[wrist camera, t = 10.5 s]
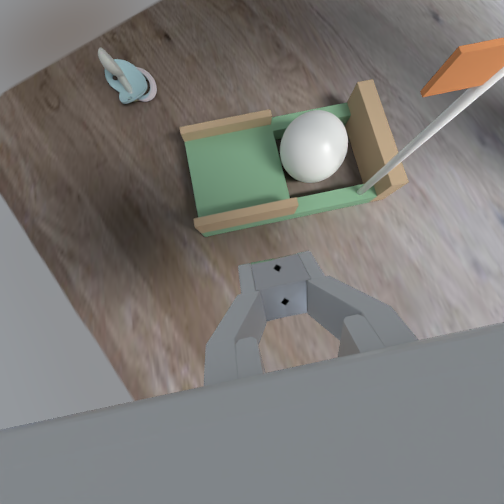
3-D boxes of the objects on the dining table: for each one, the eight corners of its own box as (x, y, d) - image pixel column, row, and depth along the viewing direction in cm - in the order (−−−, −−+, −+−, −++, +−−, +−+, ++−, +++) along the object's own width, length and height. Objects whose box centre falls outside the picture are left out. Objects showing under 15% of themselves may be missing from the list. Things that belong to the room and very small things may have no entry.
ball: (260, 130, 27) (297, 147, 33) (274, 188, 26) (310, 196, 32) (315, 78, 22) (349, 110, 27) (336, 150, 20) (367, 168, 26)
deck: (354, 111, 32) (519, -176, 12) (383, 199, 30) (640, 28, 10) (187, 144, 31) (73, -98, 11) (204, 236, 29) (100, 134, 9)
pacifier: (143, 64, 34) (108, 82, 33) (119, 14, 28) (76, 35, 27) (166, 98, 33) (131, 117, 32) (147, 54, 27) (104, 77, 26)
